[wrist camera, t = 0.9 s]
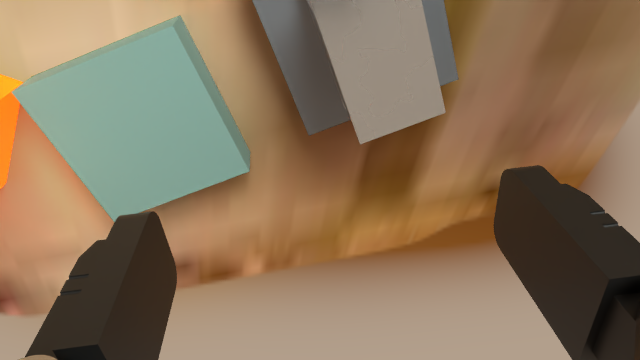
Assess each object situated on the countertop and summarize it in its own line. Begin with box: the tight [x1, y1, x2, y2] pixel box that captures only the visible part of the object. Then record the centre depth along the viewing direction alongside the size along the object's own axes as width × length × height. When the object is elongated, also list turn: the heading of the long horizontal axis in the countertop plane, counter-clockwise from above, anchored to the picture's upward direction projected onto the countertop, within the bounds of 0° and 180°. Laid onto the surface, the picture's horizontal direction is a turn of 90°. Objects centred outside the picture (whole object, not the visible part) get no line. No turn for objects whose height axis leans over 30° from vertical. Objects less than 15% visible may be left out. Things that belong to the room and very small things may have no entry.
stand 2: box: [252, 0, 458, 135], centre depth 29 cm, size 11×11×3 cm
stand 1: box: [12, 16, 250, 222], centre depth 31 cm, size 11×11×3 cm
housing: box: [306, 0, 446, 144], centre depth 25 cm, size 8×5×6 cm, turn 20°
